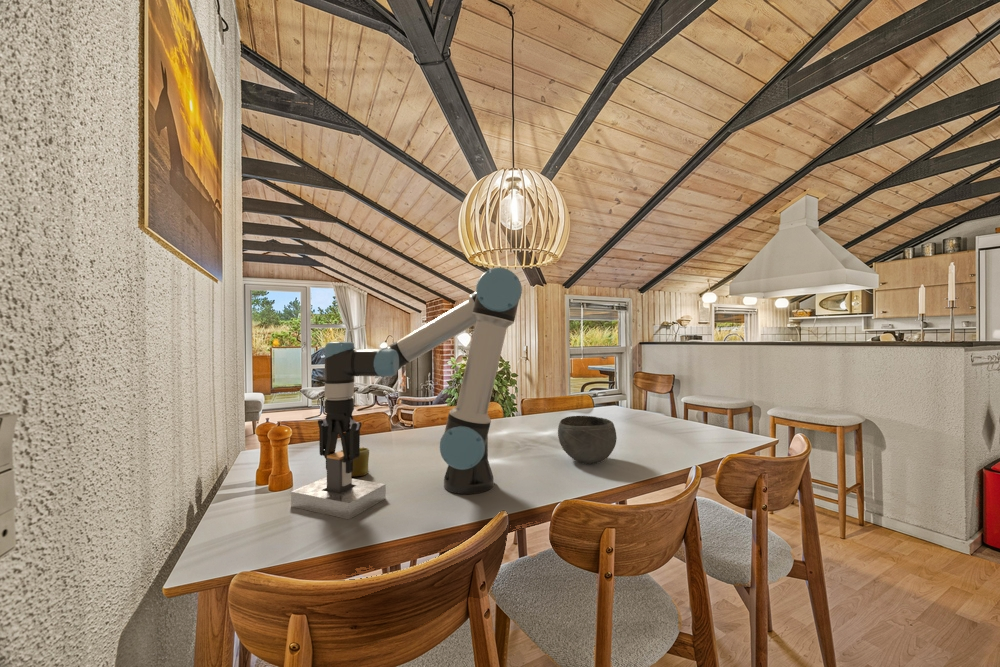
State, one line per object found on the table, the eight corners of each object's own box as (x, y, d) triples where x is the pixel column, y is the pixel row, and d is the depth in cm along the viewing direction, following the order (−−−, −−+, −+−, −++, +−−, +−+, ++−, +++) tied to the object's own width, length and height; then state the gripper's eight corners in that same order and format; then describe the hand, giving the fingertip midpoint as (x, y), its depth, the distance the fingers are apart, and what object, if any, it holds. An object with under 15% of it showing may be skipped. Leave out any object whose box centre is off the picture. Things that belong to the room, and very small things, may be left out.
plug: (351, 489, 112) (351, 453, 112) (339, 495, 108) (339, 457, 108) (339, 486, 114) (339, 451, 114) (326, 492, 110) (326, 455, 110)
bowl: (580, 450, 161) (580, 412, 162) (628, 462, 146) (628, 420, 146) (545, 461, 147) (545, 419, 147) (594, 475, 132) (594, 429, 132)
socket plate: (385, 498, 114) (385, 482, 114) (349, 519, 101) (349, 500, 101) (331, 488, 121) (331, 472, 121) (290, 506, 108) (290, 489, 108)
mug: (362, 475, 127) (357, 443, 129) (334, 483, 129) (329, 452, 131) (383, 470, 138) (377, 441, 141) (357, 478, 140) (352, 449, 143)
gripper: (374, 397, 111) (374, 483, 111) (325, 394, 118) (325, 474, 118) (354, 402, 104) (354, 492, 104) (304, 397, 111) (304, 483, 111)
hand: (339, 482), depth 111 cm, fingers closed on plug, 4 cm apart
